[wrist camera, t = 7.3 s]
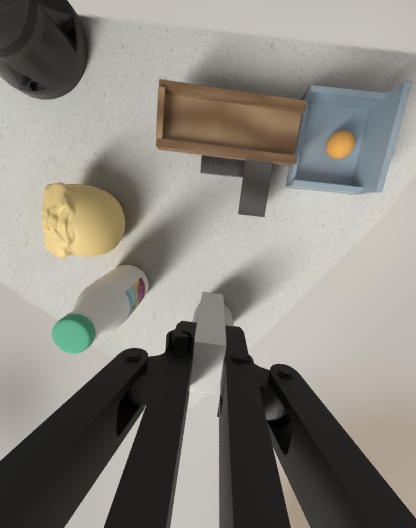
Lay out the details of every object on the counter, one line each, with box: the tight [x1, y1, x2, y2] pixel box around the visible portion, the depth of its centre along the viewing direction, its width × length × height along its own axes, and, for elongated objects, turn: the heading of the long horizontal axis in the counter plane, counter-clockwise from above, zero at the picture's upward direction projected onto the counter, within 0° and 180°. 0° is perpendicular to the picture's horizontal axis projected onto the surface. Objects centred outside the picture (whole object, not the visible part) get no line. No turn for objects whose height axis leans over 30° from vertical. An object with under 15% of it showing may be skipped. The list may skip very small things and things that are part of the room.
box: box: [286, 81, 411, 194], centre depth 37 cm, size 14×11×8 cm
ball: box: [326, 131, 355, 159], centre depth 38 cm, size 4×4×4 cm
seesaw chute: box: [156, 79, 308, 217], centre depth 36 cm, size 16×20×3 cm
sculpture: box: [42, 183, 125, 258], centre depth 40 cm, size 12×12×11 cm
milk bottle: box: [52, 265, 149, 354], centre depth 38 cm, size 8×8×20 cm
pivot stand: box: [200, 155, 245, 178], centre depth 39 cm, size 12×8×4 cm, turn 174°
